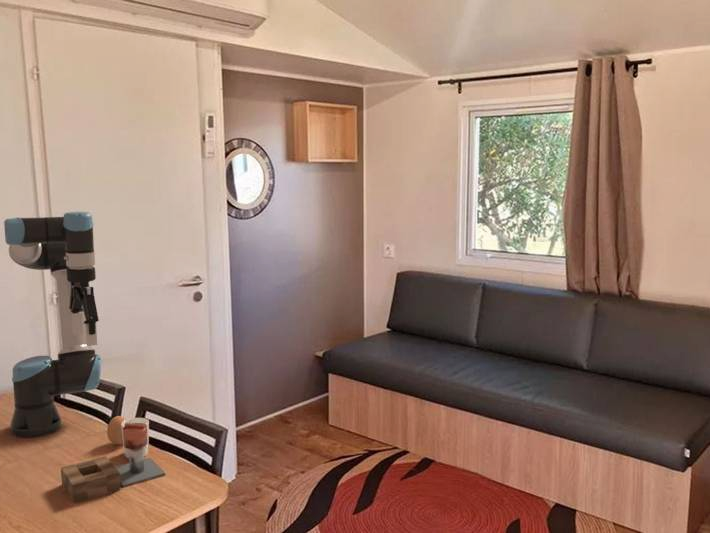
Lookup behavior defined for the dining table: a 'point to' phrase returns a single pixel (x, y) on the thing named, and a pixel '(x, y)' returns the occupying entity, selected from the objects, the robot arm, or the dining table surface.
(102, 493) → the eye block
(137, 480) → the mat
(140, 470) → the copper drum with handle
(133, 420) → the white cup
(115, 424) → the egg
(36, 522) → the dining table surface
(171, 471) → the dining table surface
